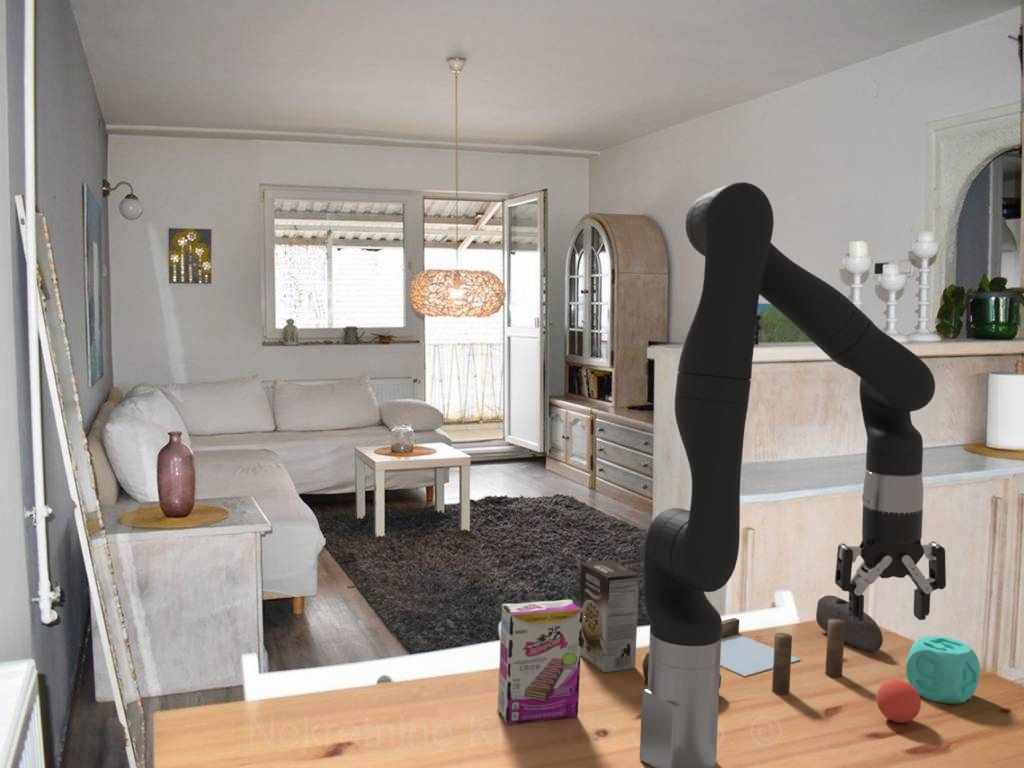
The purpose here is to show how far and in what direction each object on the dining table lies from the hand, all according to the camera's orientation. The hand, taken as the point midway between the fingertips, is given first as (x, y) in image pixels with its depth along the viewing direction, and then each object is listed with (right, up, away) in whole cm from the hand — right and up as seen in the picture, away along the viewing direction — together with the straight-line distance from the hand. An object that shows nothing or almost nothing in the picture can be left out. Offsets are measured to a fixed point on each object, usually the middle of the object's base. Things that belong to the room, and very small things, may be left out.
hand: (888, 618), depth 128 cm
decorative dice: (+16, -17, +19) cm, 30 cm away
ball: (+5, -14, +9) cm, 17 cm away
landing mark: (-12, -15, +34) cm, 39 cm away
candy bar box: (-48, -16, +8) cm, 51 cm away
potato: (-26, -16, +15) cm, 34 cm away
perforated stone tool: (+10, -15, +41) cm, 45 cm away
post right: (+1, -16, +26) cm, 30 cm away
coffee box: (-36, -15, +30) cm, 49 cm away
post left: (-10, -16, +18) cm, 26 cm away
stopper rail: (-17, -14, +41) cm, 46 cm away
